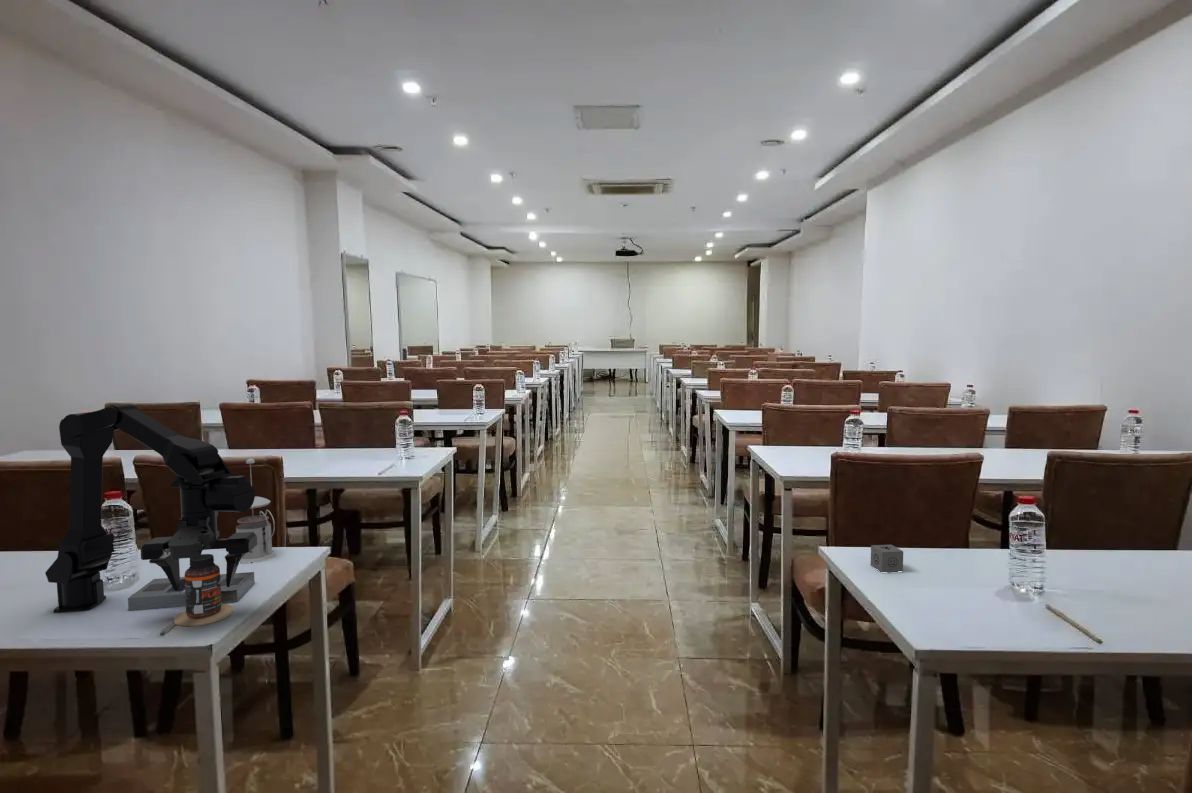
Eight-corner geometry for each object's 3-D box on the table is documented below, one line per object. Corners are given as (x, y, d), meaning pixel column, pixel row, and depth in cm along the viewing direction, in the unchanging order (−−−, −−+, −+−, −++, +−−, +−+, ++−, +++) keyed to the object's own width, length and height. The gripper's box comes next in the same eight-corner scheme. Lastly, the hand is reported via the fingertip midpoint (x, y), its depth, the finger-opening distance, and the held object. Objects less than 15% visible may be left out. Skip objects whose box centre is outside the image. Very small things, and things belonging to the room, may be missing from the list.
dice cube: (890, 565, 152) (891, 544, 151) (902, 572, 147) (903, 551, 146) (870, 566, 151) (871, 545, 151) (881, 573, 146) (882, 552, 146)
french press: (259, 548, 168) (255, 454, 166) (290, 554, 163) (286, 457, 161) (223, 560, 159) (218, 460, 157) (254, 566, 154) (249, 463, 152)
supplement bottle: (205, 620, 122) (201, 562, 121) (178, 618, 124) (175, 560, 123) (229, 608, 128) (226, 552, 127) (203, 606, 129) (200, 551, 129)
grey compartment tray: (128, 610, 129) (127, 598, 128) (154, 590, 139) (153, 578, 139) (237, 601, 132) (236, 589, 132) (254, 582, 143) (254, 571, 143)
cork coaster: (164, 628, 120) (164, 626, 120) (187, 607, 130) (187, 605, 130) (223, 623, 122) (222, 621, 122) (241, 603, 132) (241, 601, 132)
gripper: (122, 523, 115) (128, 609, 116) (236, 517, 118) (241, 600, 119) (152, 508, 125) (157, 586, 127) (256, 503, 129) (259, 579, 130)
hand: (203, 588), depth 125 cm, fingers open, 9 cm apart
